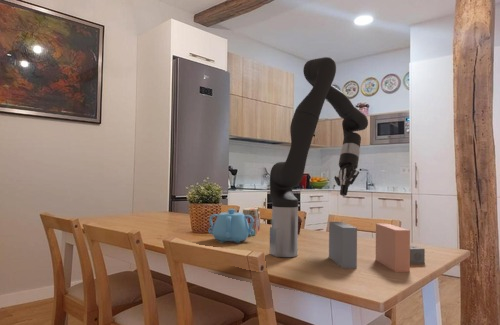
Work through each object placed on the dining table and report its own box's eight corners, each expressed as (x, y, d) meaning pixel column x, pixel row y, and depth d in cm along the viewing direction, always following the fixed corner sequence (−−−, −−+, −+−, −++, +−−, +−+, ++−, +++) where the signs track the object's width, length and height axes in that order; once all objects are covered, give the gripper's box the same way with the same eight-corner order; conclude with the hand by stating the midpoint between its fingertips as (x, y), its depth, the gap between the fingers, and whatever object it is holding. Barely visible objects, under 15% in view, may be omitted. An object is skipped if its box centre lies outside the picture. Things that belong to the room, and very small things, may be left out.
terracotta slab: (409, 271, 111) (409, 230, 111) (395, 271, 110) (395, 230, 111) (388, 260, 126) (388, 223, 126) (375, 260, 125) (375, 223, 126)
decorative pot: (238, 236, 168) (238, 206, 168) (257, 242, 154) (257, 209, 155) (205, 239, 159) (206, 208, 160) (222, 245, 145) (223, 211, 146)
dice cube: (415, 260, 126) (415, 245, 126) (424, 264, 121) (424, 248, 122) (402, 260, 126) (402, 246, 126) (410, 264, 121) (410, 249, 121)
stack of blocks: (248, 229, 192) (248, 205, 193) (260, 229, 191) (260, 205, 192) (242, 235, 171) (242, 209, 171) (255, 236, 170) (255, 209, 171)
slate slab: (356, 268, 114) (357, 227, 114) (342, 268, 113) (342, 227, 114) (341, 257, 129) (341, 221, 129) (328, 257, 128) (329, 221, 129)
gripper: (367, 155, 146) (362, 195, 139) (345, 164, 157) (339, 201, 150) (353, 147, 143) (346, 188, 136) (332, 157, 155) (325, 195, 148)
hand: (343, 195), depth 143 cm, fingers closed
